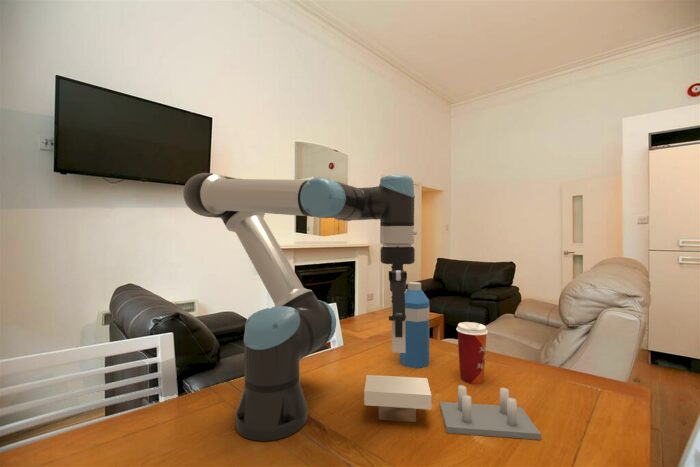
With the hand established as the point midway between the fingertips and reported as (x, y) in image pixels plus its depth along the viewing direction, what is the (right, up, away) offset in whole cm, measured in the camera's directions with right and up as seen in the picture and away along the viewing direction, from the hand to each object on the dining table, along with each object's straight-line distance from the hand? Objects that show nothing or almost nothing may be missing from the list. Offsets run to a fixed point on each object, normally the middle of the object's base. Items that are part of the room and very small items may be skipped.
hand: (398, 341), depth 72 cm
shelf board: (0, -13, 0) cm, 13 cm away
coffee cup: (+23, -17, +18) cm, 34 cm away
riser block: (0, -17, 0) cm, 17 cm away
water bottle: (+10, -17, +30) cm, 36 cm away
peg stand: (+19, -17, -2) cm, 25 cm away
